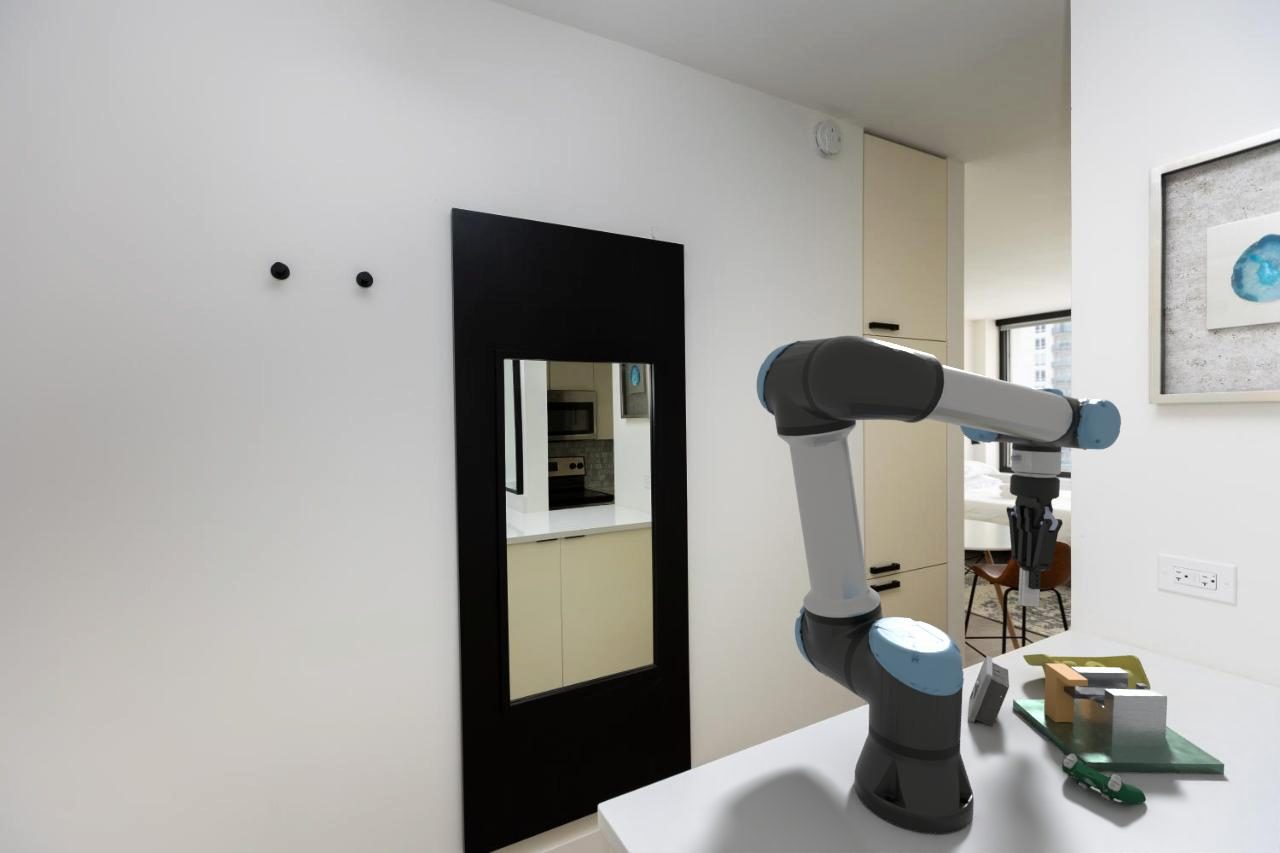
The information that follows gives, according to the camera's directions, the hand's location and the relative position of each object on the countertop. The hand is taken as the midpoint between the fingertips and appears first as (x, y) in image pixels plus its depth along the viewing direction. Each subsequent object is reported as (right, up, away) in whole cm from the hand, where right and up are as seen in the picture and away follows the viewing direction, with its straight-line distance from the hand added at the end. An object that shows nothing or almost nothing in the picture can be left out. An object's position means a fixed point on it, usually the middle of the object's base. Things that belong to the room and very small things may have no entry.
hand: (1028, 604), depth 113 cm
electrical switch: (-10, -18, -4) cm, 21 cm away
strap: (+6, -12, -11) cm, 18 cm away
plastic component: (+15, -18, +8) cm, 25 cm away
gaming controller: (-5, -20, -24) cm, 32 cm away
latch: (0, -17, -9) cm, 19 cm away
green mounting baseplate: (+6, -19, -11) cm, 22 cm away
